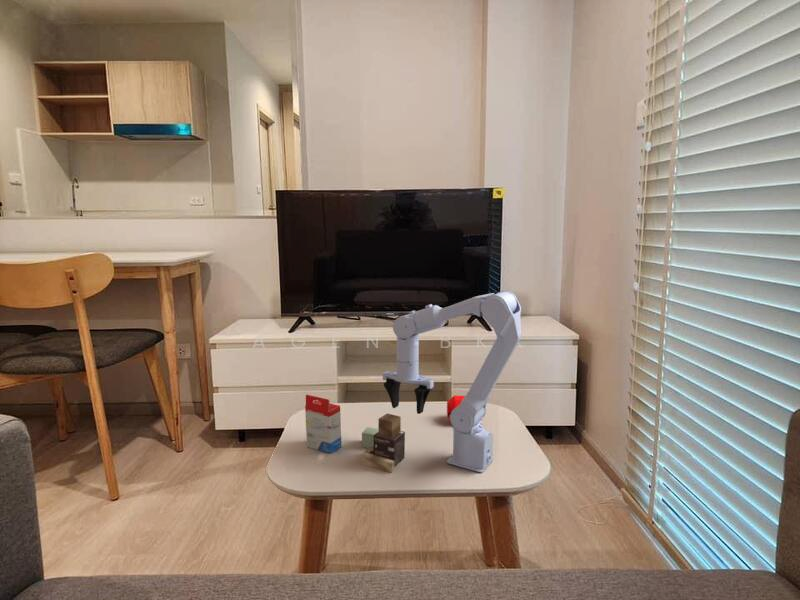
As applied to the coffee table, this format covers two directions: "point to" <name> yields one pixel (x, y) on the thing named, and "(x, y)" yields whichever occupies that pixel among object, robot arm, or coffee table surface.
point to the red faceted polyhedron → (453, 404)
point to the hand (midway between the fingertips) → (407, 409)
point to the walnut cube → (389, 425)
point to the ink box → (322, 424)
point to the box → (390, 447)
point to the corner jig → (376, 461)
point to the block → (368, 436)
